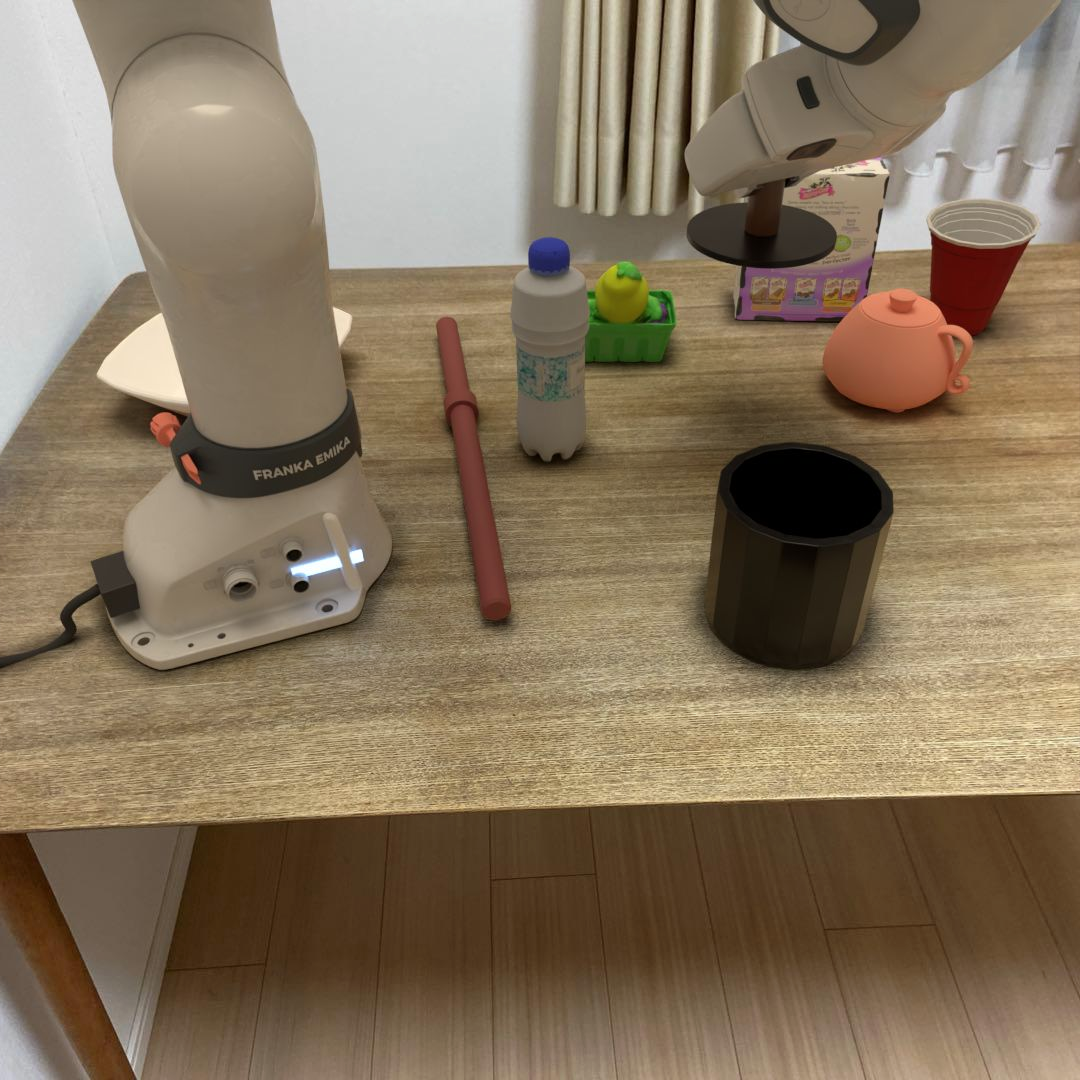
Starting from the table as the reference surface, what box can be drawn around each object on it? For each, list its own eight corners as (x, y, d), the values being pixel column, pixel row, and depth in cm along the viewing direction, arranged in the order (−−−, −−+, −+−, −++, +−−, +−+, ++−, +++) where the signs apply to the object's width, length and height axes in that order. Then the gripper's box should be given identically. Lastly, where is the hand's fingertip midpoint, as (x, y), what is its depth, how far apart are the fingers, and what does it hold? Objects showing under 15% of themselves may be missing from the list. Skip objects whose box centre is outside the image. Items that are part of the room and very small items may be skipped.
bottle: (581, 472, 91) (583, 260, 78) (508, 464, 92) (498, 254, 79) (593, 430, 96) (597, 225, 83) (524, 424, 97) (517, 220, 84)
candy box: (855, 299, 115) (883, 152, 105) (862, 324, 111) (893, 173, 100) (731, 296, 116) (747, 150, 106) (734, 320, 112) (750, 171, 101)
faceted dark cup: (775, 693, 70) (799, 568, 63) (673, 596, 78) (684, 475, 71) (896, 629, 75) (931, 505, 68) (788, 544, 83) (809, 425, 75)
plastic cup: (882, 314, 112) (904, 208, 105) (958, 293, 116) (985, 189, 108) (951, 358, 105) (981, 247, 97) (1031, 334, 108) (1065, 226, 100)
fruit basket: (668, 332, 110) (675, 232, 103) (675, 374, 103) (683, 270, 96) (563, 333, 111) (563, 233, 103) (563, 375, 104) (562, 271, 97)
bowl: (82, 428, 98) (64, 381, 95) (207, 325, 114) (196, 281, 110) (280, 467, 92) (268, 418, 89) (383, 353, 108) (377, 308, 105)
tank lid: (751, 289, 80) (766, 171, 74) (656, 235, 88) (663, 125, 82) (866, 252, 84) (889, 139, 79) (766, 205, 93) (780, 99, 87)
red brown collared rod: (433, 339, 110) (430, 313, 108) (462, 336, 110) (459, 310, 108) (476, 628, 76) (474, 598, 74) (518, 623, 76) (517, 592, 74)
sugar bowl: (852, 345, 107) (871, 253, 101) (984, 388, 100) (1013, 292, 94) (796, 394, 100) (812, 299, 93) (933, 444, 93) (961, 344, 86)
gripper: (961, 27, 74) (847, 127, 87) (730, 67, 67) (644, 170, 80) (991, 107, 74) (873, 196, 87) (763, 156, 67) (671, 244, 80)
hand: (761, 184), depth 83 cm, fingers closed on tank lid, 3 cm apart
